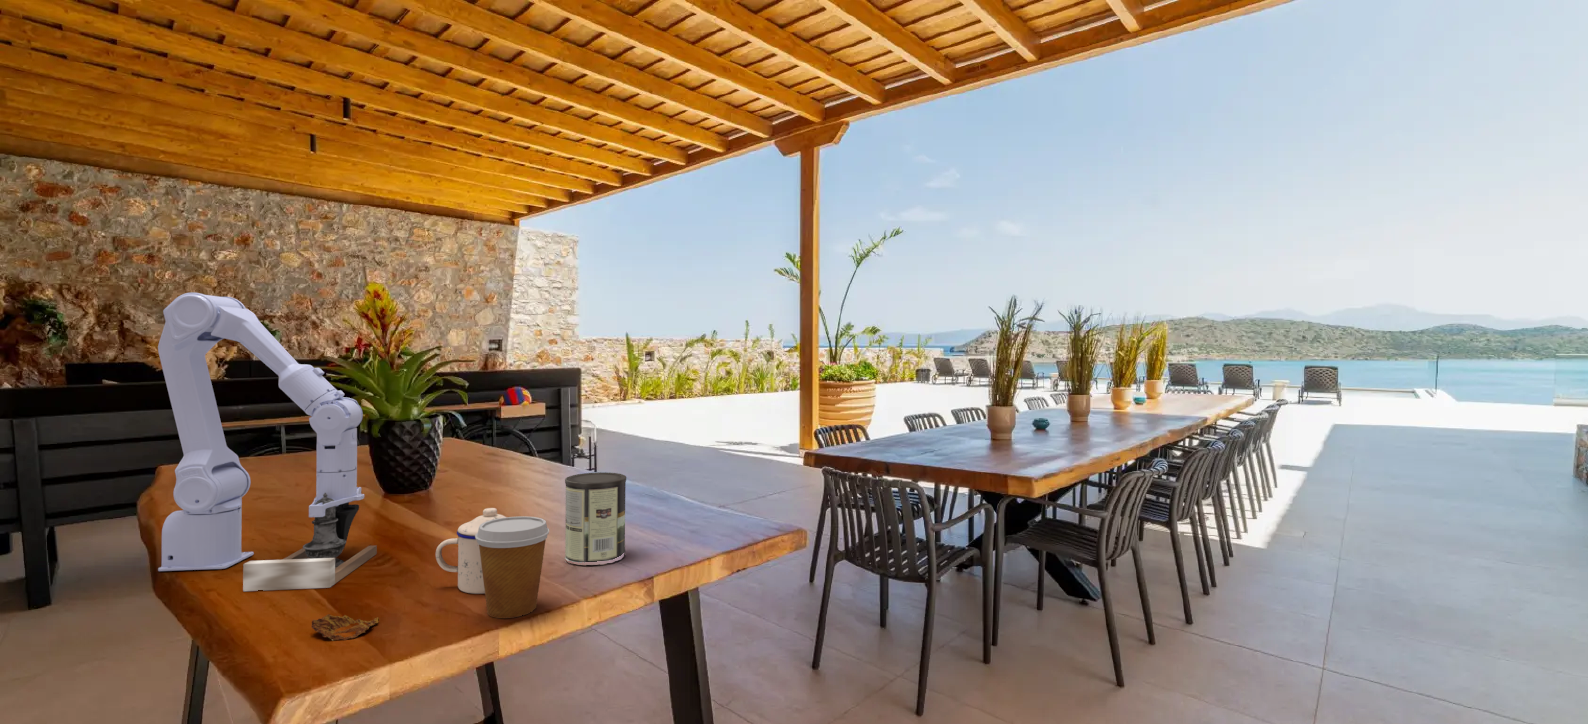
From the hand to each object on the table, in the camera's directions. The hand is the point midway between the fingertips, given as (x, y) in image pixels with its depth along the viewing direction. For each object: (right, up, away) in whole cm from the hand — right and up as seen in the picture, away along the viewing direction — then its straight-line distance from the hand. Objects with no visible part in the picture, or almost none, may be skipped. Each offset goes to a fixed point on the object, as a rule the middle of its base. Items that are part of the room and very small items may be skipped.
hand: (336, 549), depth 115 cm
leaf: (+21, -3, -29) cm, 36 cm away
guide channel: (+1, -2, -6) cm, 7 cm away
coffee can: (+43, -3, +3) cm, 43 cm away
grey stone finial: (+1, -2, -4) cm, 4 cm away
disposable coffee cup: (+39, -3, -21) cm, 44 cm away
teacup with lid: (+30, -2, -12) cm, 32 cm away
